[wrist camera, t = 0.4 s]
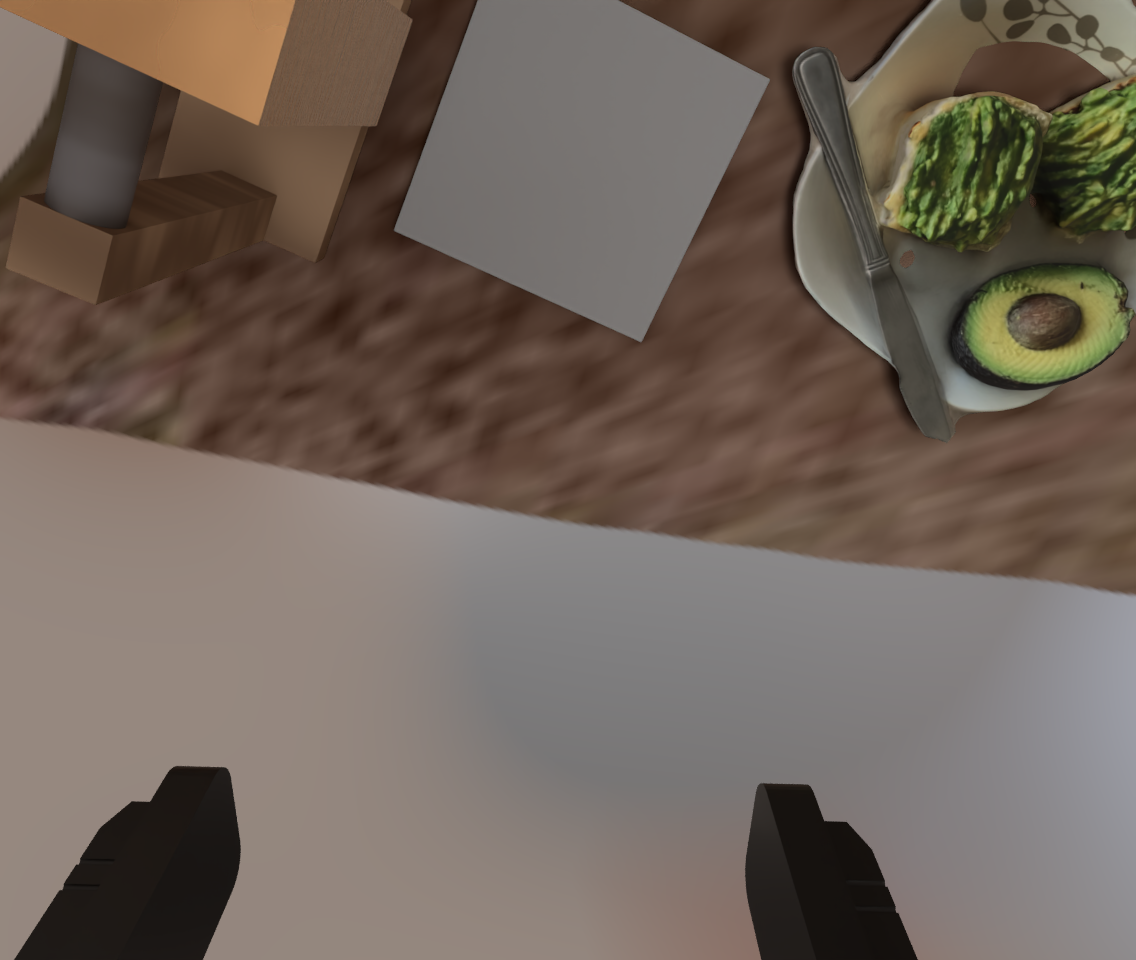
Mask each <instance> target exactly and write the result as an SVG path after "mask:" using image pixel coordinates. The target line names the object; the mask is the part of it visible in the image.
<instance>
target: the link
mask: <svg viewBox="0 0 1136 960" xmlns="http://www.w3.org/2000/svg"><path fill="white" fill-rule="evenodd" d="M0 7H1V8H3V9H5V10H7V11H10V12H12V13H14V14H16V15H18V16H20V17H23V18H25V19H27V20H29V21H31V22H33V23H36V24H38V25H40V26H42V27H44V28H46V29H49V30H51V31H53V32H55V33H57V34H60V35H62V36H64V37H66V38H68V39H70V40H73V41H75V42H77V43H79V44H81V45H83V46H86V47H88V48H90V49H92V50H94V51H97V52H99V53H101V54H103V55H105V56H107V57H110V58H112V59H114V60H116V61H118V62H120V63H123V64H125V65H127V66H129V67H131V68H134V69H136V70H138V71H140V72H142V73H144V74H147V75H149V76H151V77H153V78H155V79H157V80H160V81H162V82H164V83H166V84H168V85H171V86H173V87H175V88H177V89H179V90H181V91H184V92H186V93H188V94H190V95H192V96H194V97H197V98H199V99H201V100H203V101H205V102H208V103H210V104H212V105H214V106H216V107H218V108H221V109H223V110H225V111H227V112H229V113H231V114H234V115H236V116H238V117H240V118H242V119H245V120H247V121H249V122H251V123H253V124H255V125H258V126H377V123H378V120H379V117H380V114H381V111H382V108H383V105H384V103H385V100H386V97H387V94H388V91H389V88H390V85H391V82H392V79H393V76H394V73H395V70H396V68H397V65H398V62H399V59H400V56H401V53H402V50H403V47H404V44H405V41H406V38H407V36H408V33H409V30H410V27H411V24H412V21H413V20H412V19H411V18H410V17H408V16H407V15H405V14H404V13H403V12H401V11H400V10H399V9H397V8H396V7H395V6H393V5H392V4H391V3H389V2H388V1H387V0H0Z"/></svg>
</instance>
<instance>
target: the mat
mask: <svg viewBox="0 0 1136 960" xmlns="http://www.w3.org/2000/svg"><path fill="white" fill-rule="evenodd" d="M769 81H770V79H768V78H766V77H764V76H762V75H761V74H759V73H757V72H755V71H753V70H751V69H749V68H747V67H745V66H743V65H741V64H739V63H737V62H736V61H734V60H732V59H730V58H728V57H726V56H724V55H722V54H720V53H718V52H716V51H714V50H713V49H711V48H709V47H707V46H705V45H703V44H701V43H699V42H697V41H695V40H693V39H691V38H689V37H688V36H686V35H684V34H682V33H680V32H678V31H676V30H674V29H672V28H670V27H668V26H666V25H665V24H663V23H661V22H659V21H657V20H655V19H653V18H651V17H649V16H647V15H645V14H643V13H641V12H640V11H638V10H636V9H634V8H632V7H630V6H628V5H626V4H624V3H622V2H620V1H618V0H478V1H477V4H476V7H475V10H474V12H473V15H472V18H471V21H470V23H469V26H468V29H467V31H466V34H465V37H464V40H463V42H462V45H461V48H460V51H459V53H458V56H457V59H456V62H455V64H454V67H453V70H452V73H451V75H450V78H449V81H448V83H447V86H446V89H445V92H444V94H443V97H442V100H441V103H440V105H439V108H438V111H437V114H436V116H435V119H434V122H433V125H432V127H431V130H430V133H429V136H428V138H427V141H426V144H425V146H424V149H423V152H422V155H421V157H420V160H419V163H418V166H417V168H416V171H415V174H414V177H413V179H412V182H411V185H410V188H409V190H408V193H407V196H406V198H405V201H404V204H403V207H402V209H401V212H400V215H399V218H398V220H397V223H396V226H395V229H394V231H396V232H398V233H400V234H402V235H405V236H407V237H409V238H411V239H413V240H416V241H418V242H420V243H422V244H424V245H427V246H429V247H431V248H433V249H436V250H438V251H440V252H442V253H444V254H447V255H449V256H451V257H453V258H456V259H458V260H460V261H462V262H464V263H467V264H469V265H471V266H473V267H476V268H478V269H480V270H482V271H484V272H487V273H489V274H491V275H493V276H495V277H498V278H500V279H502V280H504V281H507V282H509V283H511V284H513V285H515V286H518V287H520V288H522V289H524V290H527V291H529V292H531V293H533V294H535V295H538V296H540V297H542V298H544V299H546V300H549V301H551V302H553V303H555V304H558V305H560V306H562V307H564V308H566V309H569V310H571V311H573V312H575V313H578V314H580V315H582V316H584V317H586V318H589V319H591V320H593V321H595V322H597V323H600V324H602V325H604V326H606V327H609V328H611V329H613V330H615V331H617V332H620V333H622V334H624V335H626V336H629V337H631V338H633V339H635V340H637V341H640V342H642V340H643V338H644V336H645V334H646V332H647V330H648V328H649V326H650V323H651V321H652V319H653V317H654V315H655V313H656V311H657V309H658V307H659V305H660V303H661V301H662V299H663V297H664V295H665V293H666V291H667V289H668V287H669V285H670V283H671V281H672V279H673V277H674V275H675V273H676V270H677V268H678V266H679V264H680V262H681V260H682V258H683V256H684V254H685V252H686V250H687V248H688V246H689V244H690V242H691V240H692V238H693V236H694V234H695V232H696V230H697V228H698V226H699V224H700V222H701V220H702V217H703V215H704V213H705V211H706V209H707V207H708V205H709V203H710V201H711V199H712V197H713V195H714V193H715V191H716V189H717V187H718V185H719V183H720V181H721V179H722V177H723V175H724V173H725V171H726V169H727V167H728V164H729V162H730V160H731V158H732V156H733V154H734V152H735V150H736V148H737V146H738V144H739V142H740V140H741V138H742V136H743V134H744V132H745V130H746V128H747V126H748V124H749V122H750V120H751V118H752V116H753V114H754V111H755V109H756V107H757V105H758V103H759V101H760V99H761V97H762V95H763V93H764V91H765V89H766V87H767V85H768V83H769Z"/></svg>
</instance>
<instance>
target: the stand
mask: <svg viewBox="0 0 1136 960" xmlns="http://www.w3.org/2000/svg"><path fill="white" fill-rule="evenodd" d="M387 1H388V2H389V3H391V4H392V5H393V6H395V7H396V8H397V9H399V10H400V11H401V12H403V13H404V14H405V15H407V12H408V10H409V7H410V4H411V1H412V0H387ZM162 84H163V82H162V81H160V80H157V79H155V78H153V77H151V76H149V75H147V74H144V73H142V72H140V71H138V70H136V69H134V68H131V67H129V66H127V65H125V64H123V63H120V62H118V61H116V60H114V59H112V58H110V57H107V56H105V55H103V54H101V53H99V52H97V51H94V50H92V49H90V48H88V47H86V46H83V45H81V44H79V43H78V46H77V51H76V56H75V60H74V65H73V69H72V74H71V79H70V83H69V88H68V92H67V97H66V101H65V106H64V111H63V115H62V120H61V124H60V129H59V134H58V138H57V143H56V147H55V152H54V157H53V161H52V166H51V170H50V175H49V180H48V184H47V189H46V193H43V194H35V195H27V196H20V201H19V206H18V210H17V215H16V220H15V225H14V230H13V234H12V239H11V244H10V249H9V254H8V259H7V263H6V269H9V270H11V271H14V272H16V273H19V274H21V275H23V276H26V277H28V278H31V279H33V280H36V281H38V282H41V283H43V284H45V285H48V286H50V287H53V288H55V289H58V290H60V291H62V292H65V293H67V294H70V295H72V296H75V297H77V298H79V299H82V300H84V301H87V302H89V303H92V304H94V305H97V304H100V303H102V302H105V301H108V300H110V299H113V298H115V297H118V296H121V295H123V294H126V293H128V292H131V291H134V290H136V289H139V288H141V287H144V286H146V285H149V284H152V283H154V282H157V281H159V280H162V279H165V278H167V277H170V276H172V275H175V274H178V273H180V272H183V271H185V270H188V269H191V268H193V267H196V266H198V265H201V264H203V263H206V262H209V261H211V260H214V259H216V258H219V257H222V256H224V255H227V254H229V253H232V252H235V251H237V250H240V249H242V248H245V247H248V246H250V245H253V244H255V243H258V242H260V241H263V240H264V241H266V242H268V243H271V244H273V245H275V246H278V247H280V248H282V249H284V250H287V251H289V252H291V253H294V254H296V255H298V256H300V257H303V258H305V259H307V260H310V261H312V262H314V263H316V262H318V261H320V260H321V259H323V258H324V256H325V253H326V251H327V248H328V245H329V242H330V239H331V236H332V233H333V230H334V227H335V224H336V221H337V218H338V215H339V212H340V209H341V206H342V204H343V201H344V198H345V195H346V192H347V189H348V186H349V183H350V180H351V177H352V174H353V171H354V168H355V165H356V162H357V159H358V156H359V154H360V151H361V148H362V145H363V142H364V139H365V136H366V133H367V130H368V127H369V126H258V125H255V124H253V123H251V122H249V121H247V120H245V119H242V118H240V117H238V116H236V115H234V114H231V113H229V112H227V111H225V110H223V109H221V108H218V107H216V106H214V105H212V104H210V103H208V102H205V101H203V100H201V99H199V98H197V97H194V96H192V95H190V94H188V93H186V92H184V91H181V92H180V96H179V100H178V104H177V108H176V111H175V115H174V119H173V123H172V127H171V131H170V134H169V138H168V142H167V146H166V150H165V153H164V157H163V161H162V165H161V169H160V173H159V176H158V179H151V180H143V181H138V179H139V175H140V171H141V167H142V163H143V159H144V155H145V151H146V147H147V144H148V140H149V136H150V132H151V128H152V124H153V120H154V116H155V112H156V108H157V104H158V100H159V96H160V92H161V88H162Z"/></svg>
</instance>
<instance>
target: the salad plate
mask: <svg viewBox="0 0 1136 960" xmlns="http://www.w3.org/2000/svg"><path fill="white" fill-rule="evenodd" d="M1010 41H1021V42H1043V43H1048V44H1051V45H1054V46H1058V47H1061V48H1063V49H1065V50H1069V51H1072V52H1074V53H1076V54H1077V55H1078V56H1080V57H1081V58H1083V59H1084V60H1086V61H1087V62H1088V63H1090V64H1091V65H1093V66H1094V67H1095V68H1097V69H1098V70H1099V71H1100V72H1101V73H1103V74H1104V75H1105V76H1106V77H1107V78H1108V79H1109V80H1110V82H1109V83H1107V84H1104V85H1102V86H1100V87H1098V88H1096V89H1094V90H1092V91H1090V92H1088V93H1086V94H1083V95H1081V96H1079V97H1077V98H1075V99H1073V100H1072V101H1070V102H1068V103H1066V104H1064V105H1062V106H1060V107H1058V108H1056V109H1054V110H1053V111H1051V112H1050V113H1047V112H1045V111H1042V110H1041V109H1039V108H1038V107H1037V106H1036V105H1034V104H1031V103H1028V102H1026V101H1023V100H1020V99H1018V98H1015V97H1012V96H1010V95H1008V94H1004V93H1000V92H994V91H990V92H978V93H974V94H968V95H964V96H960V97H953V94H954V90H955V87H956V86H957V84H958V82H959V78H960V76H961V74H962V72H963V70H964V68H965V67H966V65H967V63H968V62H969V60H970V58H971V57H972V55H973V53H974V52H975V51H976V50H977V49H978V48H981V47H985V46H989V45H993V44H997V43H1001V42H1010ZM792 76H793V81H794V85H795V87H796V90H797V93H798V96H799V99H800V101H801V104H802V107H803V110H804V113H805V116H806V118H807V121H808V124H809V129H810V133H811V141H810V149H809V152H808V155H807V158H806V160H805V164H804V169H803V171H802V173H801V175H800V178H799V180H798V183H797V187H796V190H795V193H794V196H793V197H794V199H793V243H794V252H795V265H796V269H797V271H798V273H799V274H800V277H801V279H802V282H803V284H804V286H805V288H806V289H807V290H808V292H809V293H810V294H811V295H812V297H813V298H814V299H815V300H816V301H817V303H818V304H819V305H820V306H821V307H822V308H823V309H824V310H825V311H826V312H827V313H828V314H829V315H830V316H831V317H832V318H833V319H835V320H836V321H837V322H838V323H839V324H840V325H841V326H843V327H845V328H846V329H847V330H849V331H850V332H851V333H852V334H854V335H855V336H856V337H857V338H859V339H860V340H861V341H862V342H863V343H864V344H865V345H866V346H868V347H869V348H871V349H872V350H873V351H875V352H876V353H877V354H879V355H880V356H881V357H883V358H884V359H886V360H887V361H888V362H889V363H890V364H891V365H892V366H893V367H894V368H895V369H896V370H897V372H898V375H899V388H900V391H901V393H902V395H903V398H904V400H905V403H906V405H907V407H908V410H909V411H910V413H911V415H912V417H913V419H914V420H915V422H916V423H917V425H918V427H919V428H920V430H921V432H922V433H923V434H924V436H926V437H931V438H934V439H939V440H941V441H944V442H946V443H947V442H948V441H949V440H950V439H951V437H952V436H953V435H954V434H955V432H956V431H955V424H956V422H957V421H958V419H959V418H961V417H963V416H965V415H968V414H974V413H981V412H991V411H1001V410H1008V409H1012V408H1017V407H1020V406H1024V405H1026V404H1029V403H1031V402H1033V401H1036V400H1038V399H1040V398H1042V397H1044V396H1046V395H1048V394H1049V393H1050V392H1051V391H1053V390H1054V389H1056V388H1058V387H1059V386H1061V385H1062V384H1064V383H1067V382H1069V381H1072V380H1075V379H1077V378H1079V377H1081V376H1082V375H1084V374H1086V373H1088V372H1090V371H1092V370H1093V369H1095V368H1096V367H1098V366H1099V365H1101V364H1102V363H1103V362H1104V361H1105V360H1107V359H1108V358H1109V357H1110V356H1111V355H1113V354H1114V352H1115V351H1116V350H1117V349H1118V348H1119V347H1120V346H1121V344H1122V343H1123V342H1124V341H1125V340H1126V339H1127V338H1128V335H1129V333H1130V321H1131V320H1132V318H1133V317H1134V316H1135V314H1136V7H1135V6H1134V5H1133V3H1132V0H931V1H930V3H929V4H928V5H927V6H926V7H925V8H924V10H923V11H921V12H920V13H919V14H918V15H917V16H916V17H915V18H914V19H913V20H912V21H911V22H910V23H909V24H908V26H907V27H906V28H905V29H904V30H903V31H902V32H901V33H900V34H899V35H898V37H897V38H896V39H895V41H894V42H893V43H892V45H891V46H890V48H889V49H888V50H887V51H886V52H885V53H884V55H883V56H882V58H881V59H880V60H879V61H878V62H877V63H876V64H875V65H874V66H872V67H871V68H870V69H869V70H868V71H867V72H866V73H865V74H864V75H862V76H861V77H860V78H859V79H858V80H857V81H854V82H852V81H851V82H848V81H847V80H846V79H845V78H844V76H843V75H842V73H841V71H840V68H839V64H838V61H837V58H836V57H835V55H834V54H833V53H832V52H831V51H830V50H829V49H828V48H825V47H813V48H811V49H808V50H806V51H804V52H803V53H801V54H800V55H799V56H798V57H797V58H796V59H795V61H794V65H793V70H792ZM1030 194H1032V195H1033V196H1034V197H1035V198H1036V206H1035V207H1034V208H1033V207H1031V205H1030V202H1029V197H1030ZM1124 231H1126V232H1125V233H1124ZM908 250H912V251H913V252H914V256H915V259H914V262H913V264H912V265H911V266H909V267H907V268H903V267H902V266H901V265H900V258H901V256H902V255H903V254H904V252H906V251H908Z"/></svg>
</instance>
